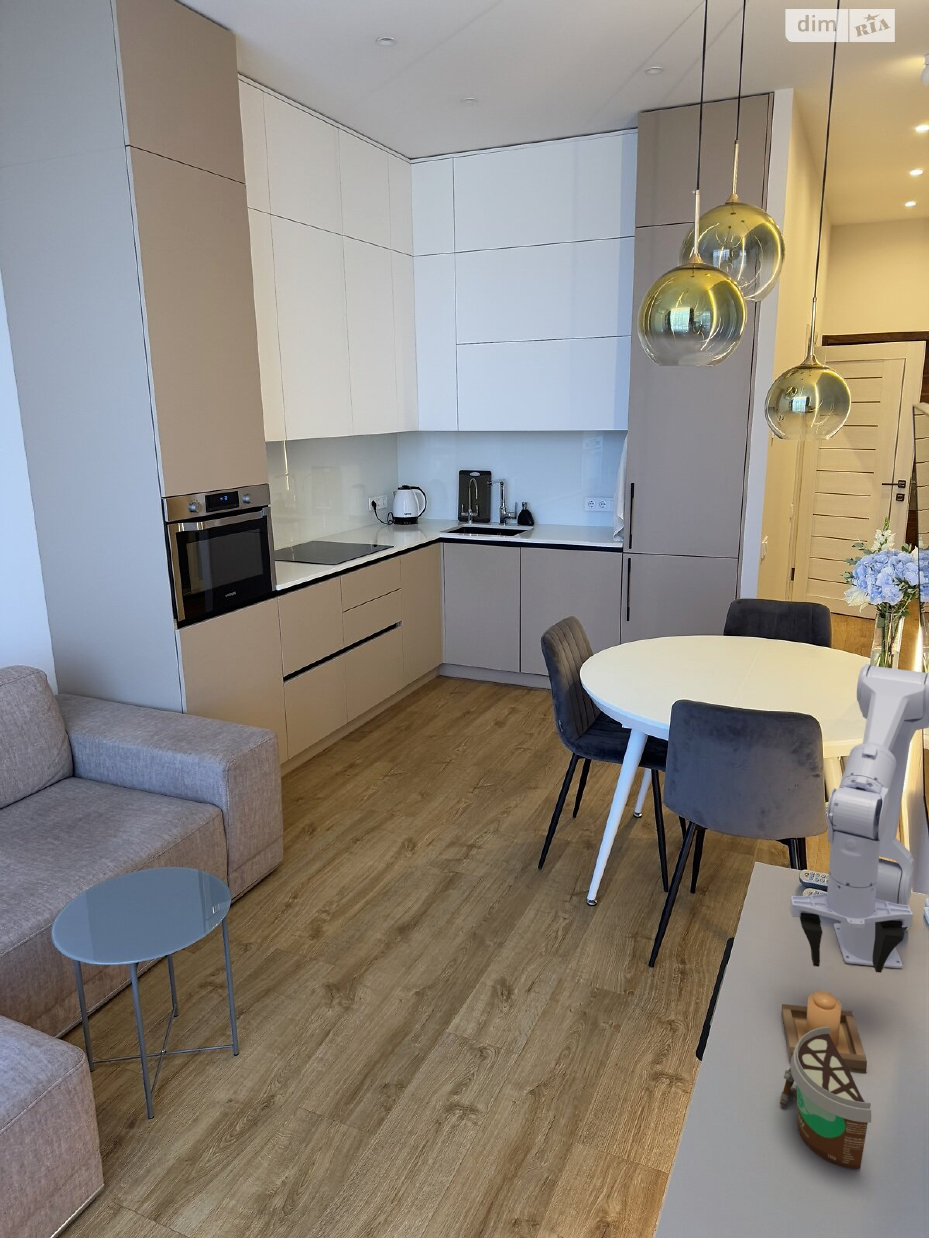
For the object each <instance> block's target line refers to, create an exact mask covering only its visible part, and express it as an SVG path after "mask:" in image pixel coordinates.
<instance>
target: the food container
mask: <svg viewBox="0 0 929 1238" xmlns="http://www.w3.org/2000/svg"><path fill="white" fill-rule="evenodd" d="M789 1064H790V1067H789V1068H791V1073H792V1076H793V1079H794V1083H795V1084H796V1090H797V1098H796V1101H797V1102H796V1105H797V1106H796V1107H797V1130H798V1132H799V1135H800V1137H801V1139H802V1141H803V1142H804V1143H805V1145H806V1146H807V1147H808V1149H809V1150H811V1151H812V1152H813V1153H814V1154H815V1155H817V1156H818V1157H819V1158H821V1159H822V1160H824V1161H826V1162H828V1163H829V1164H833V1165H835V1166H838V1167H841V1168H845V1169H850V1170H861V1167H862V1159H863V1153H864V1150H865V1143H866V1135H867V1129H868V1124H872V1108H871V1102H866V1101H865V1100H864V1098H863V1097H862V1095H861V1093H860V1091H859V1089H858V1086H857V1085H856V1083H855V1080H854V1077H853V1075H852V1073H851V1071H849V1069H848V1067H847V1065H846V1063H845V1062H844V1060H843V1059H842V1057H841V1055H840V1054H839V1052H838V1050H837V1048H836V1046H835V1045H834V1043H833V1041H832V1039H831V1037H830V1027H822V1028H817V1029H814V1030H812V1031H810V1032H808V1033H806V1034H805V1035H804V1036H803V1037H802V1038H801V1039H800V1041H799V1042H798V1043H797V1045H796V1047H795V1050H794V1052H793V1055H792V1058H791V1063H790V1062H789Z"/></svg>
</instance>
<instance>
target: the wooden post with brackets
mask: <svg viewBox="0 0 929 1238" xmlns="http://www.w3.org/2000/svg"><path fill="white" fill-rule="evenodd" d="M783 1079H785V1083H784V1087H783V1089H782V1092H781V1095H780V1102H779V1105H780V1106H782V1107H787V1106H788V1105H787V1104H788V1101H789V1099H790V1100H791V1101H793V1102H794V1101H795V1099H797V1088H794V1087H793V1084H794V1083H795V1081H794V1079H793V1076H792V1073H791V1068H790V1067H789V1069H787V1070H786V1069H785V1070H784V1073H783Z"/></svg>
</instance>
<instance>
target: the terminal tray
mask: <svg viewBox="0 0 929 1238" xmlns="http://www.w3.org/2000/svg"><path fill="white" fill-rule="evenodd" d="M807 1007H808V1005H796V1004H787V1003H782V1004H781V1019H782V1021H781V1022H782V1027H783V1031H784V1036H785V1041H786V1042H785V1043H786V1047H787V1053H788V1054H787V1055H788V1059H789V1064H790V1063H791V1058H792V1055H793V1052H794V1050H795V1047H796V1045H797V1043H798V1042H799V1041H800V1039H801V1038H802V1037H803V1036H804V1035H805V1034H806V1022H807ZM836 1048H837V1050H838V1052H839V1054H840V1055H841V1057H842V1059H843V1060H844V1062H845V1063H846V1065H847V1067H848V1069H849V1071H850V1073H851V1072H854V1073H860V1074H867V1066H868V1060H867V1057H866V1054H865V1050H864V1047H863V1044H862V1039H861V1036H860V1033H859V1030H858V1027H857V1023H856V1019H855V1017H854V1013H853V1011H850V1010H843V1009H841V1016H840V1028H839V1041H838V1045H837V1047H836Z"/></svg>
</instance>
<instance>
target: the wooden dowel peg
mask: <svg viewBox="0 0 929 1238" xmlns="http://www.w3.org/2000/svg"><path fill="white" fill-rule="evenodd" d="M841 1010H842V1004H841V1002H840V1000H839V999H838V998H836V997H835V995H834V994H832V993H831V992H829V991H826V990H818V991H815V992H813V993H811V994H809V995H808V998H807V1022H806V1033H808V1032H810V1031H812V1030H814V1029H817V1028H822V1027H830V1037H831V1039H832V1041H833V1043H834V1045H835V1046H836V1047H837V1045H838V1041H839V1028H840V1016H841Z"/></svg>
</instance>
